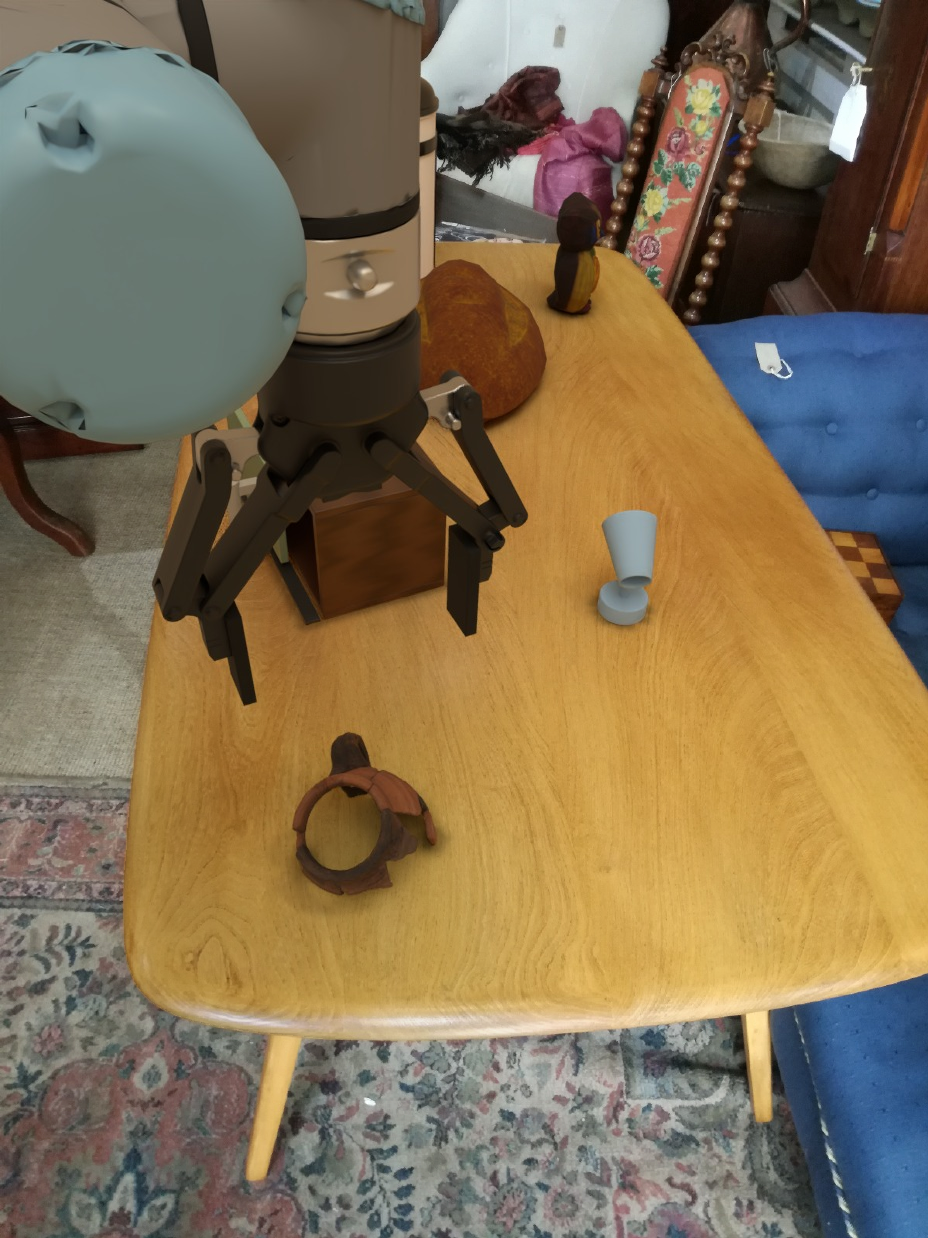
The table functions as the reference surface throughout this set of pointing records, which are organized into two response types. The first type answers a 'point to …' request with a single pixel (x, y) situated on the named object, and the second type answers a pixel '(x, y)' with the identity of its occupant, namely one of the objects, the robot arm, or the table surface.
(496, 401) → the bread
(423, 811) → the broken clay pot
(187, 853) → the table surface
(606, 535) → the spotlight
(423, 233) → the coffee press
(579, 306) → the figurine
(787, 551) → the table surface
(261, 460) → the sliding door
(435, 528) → the cupboard
